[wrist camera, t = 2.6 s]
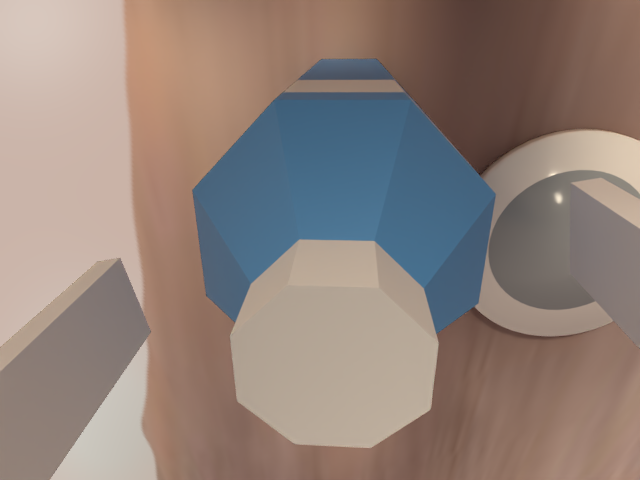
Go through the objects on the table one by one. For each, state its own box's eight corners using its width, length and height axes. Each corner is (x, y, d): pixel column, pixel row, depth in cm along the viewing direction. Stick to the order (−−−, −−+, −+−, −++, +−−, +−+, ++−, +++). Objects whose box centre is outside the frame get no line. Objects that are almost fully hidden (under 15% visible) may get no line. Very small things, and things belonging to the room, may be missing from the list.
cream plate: (440, 152, 32) (443, 157, 31) (692, 107, 29) (705, 109, 28) (459, 338, 38) (462, 348, 37) (667, 313, 36) (677, 322, 35)
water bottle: (433, 163, 32) (628, 482, 9) (312, 208, 34) (230, 561, 11) (389, 28, 29) (526, 16, 6) (257, 88, 31) (-13, 247, 8)
